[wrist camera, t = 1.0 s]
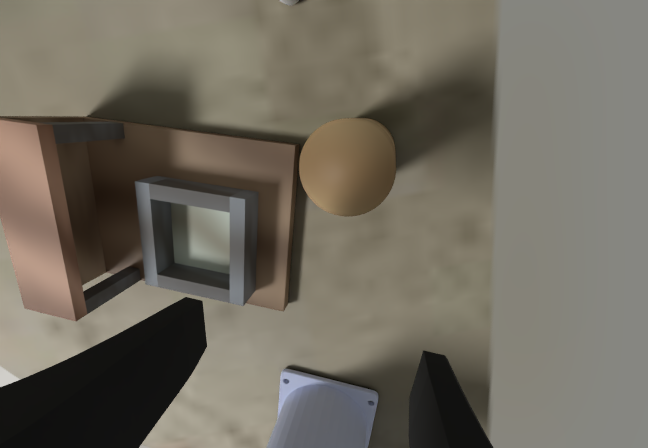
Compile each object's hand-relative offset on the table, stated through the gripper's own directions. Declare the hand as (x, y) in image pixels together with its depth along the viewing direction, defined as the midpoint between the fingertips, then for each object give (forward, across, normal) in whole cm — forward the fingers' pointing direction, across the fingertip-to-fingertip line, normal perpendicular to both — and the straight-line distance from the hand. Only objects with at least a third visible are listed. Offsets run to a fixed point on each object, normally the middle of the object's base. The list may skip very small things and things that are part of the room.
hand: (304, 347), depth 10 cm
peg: (+12, 0, -4) cm, 13 cm away
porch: (+12, +12, +2) cm, 17 cm away
